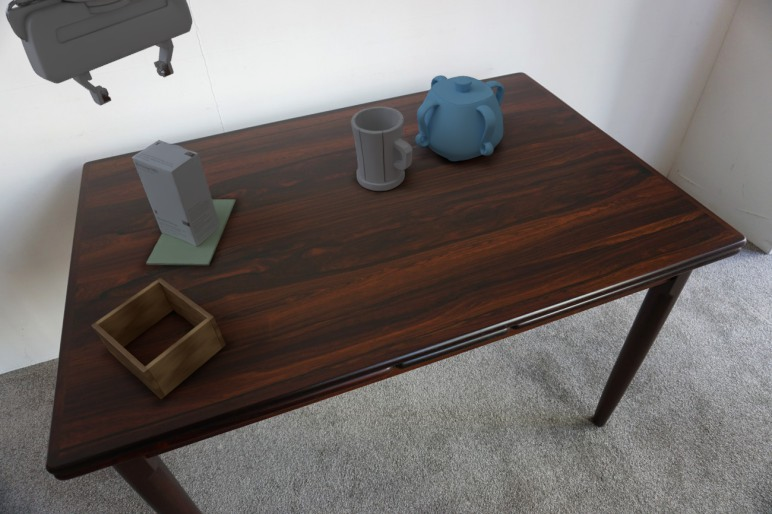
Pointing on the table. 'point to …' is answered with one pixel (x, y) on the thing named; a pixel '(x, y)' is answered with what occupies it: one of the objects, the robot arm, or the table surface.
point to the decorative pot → (461, 117)
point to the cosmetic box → (177, 191)
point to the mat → (185, 253)
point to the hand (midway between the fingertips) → (136, 88)
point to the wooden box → (143, 315)
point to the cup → (380, 148)
